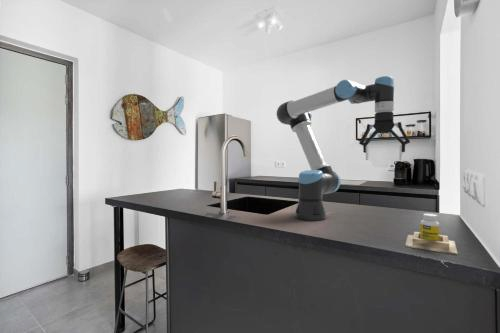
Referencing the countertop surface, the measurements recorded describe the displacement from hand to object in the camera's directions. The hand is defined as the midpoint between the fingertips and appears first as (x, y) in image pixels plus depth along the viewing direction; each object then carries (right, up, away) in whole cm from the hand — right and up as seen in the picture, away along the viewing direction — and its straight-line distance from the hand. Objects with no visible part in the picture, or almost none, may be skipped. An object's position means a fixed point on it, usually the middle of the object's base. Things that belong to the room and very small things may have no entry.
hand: (383, 160), depth 120 cm
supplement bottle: (+2, -30, -28) cm, 41 cm away
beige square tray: (+2, -30, -28) cm, 41 cm away
